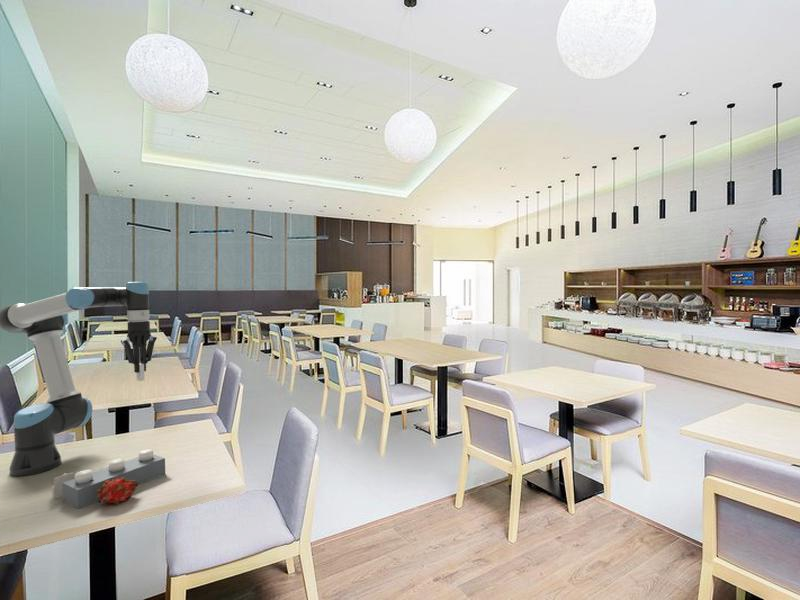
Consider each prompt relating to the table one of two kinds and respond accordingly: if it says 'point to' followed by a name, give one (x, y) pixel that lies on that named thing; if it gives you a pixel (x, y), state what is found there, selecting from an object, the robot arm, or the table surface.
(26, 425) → the robot arm
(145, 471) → the mount
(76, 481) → the knob near
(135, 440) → the table surface
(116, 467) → the knob mid
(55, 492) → the architectural model
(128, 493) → the dragon fruit
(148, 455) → the knob far
